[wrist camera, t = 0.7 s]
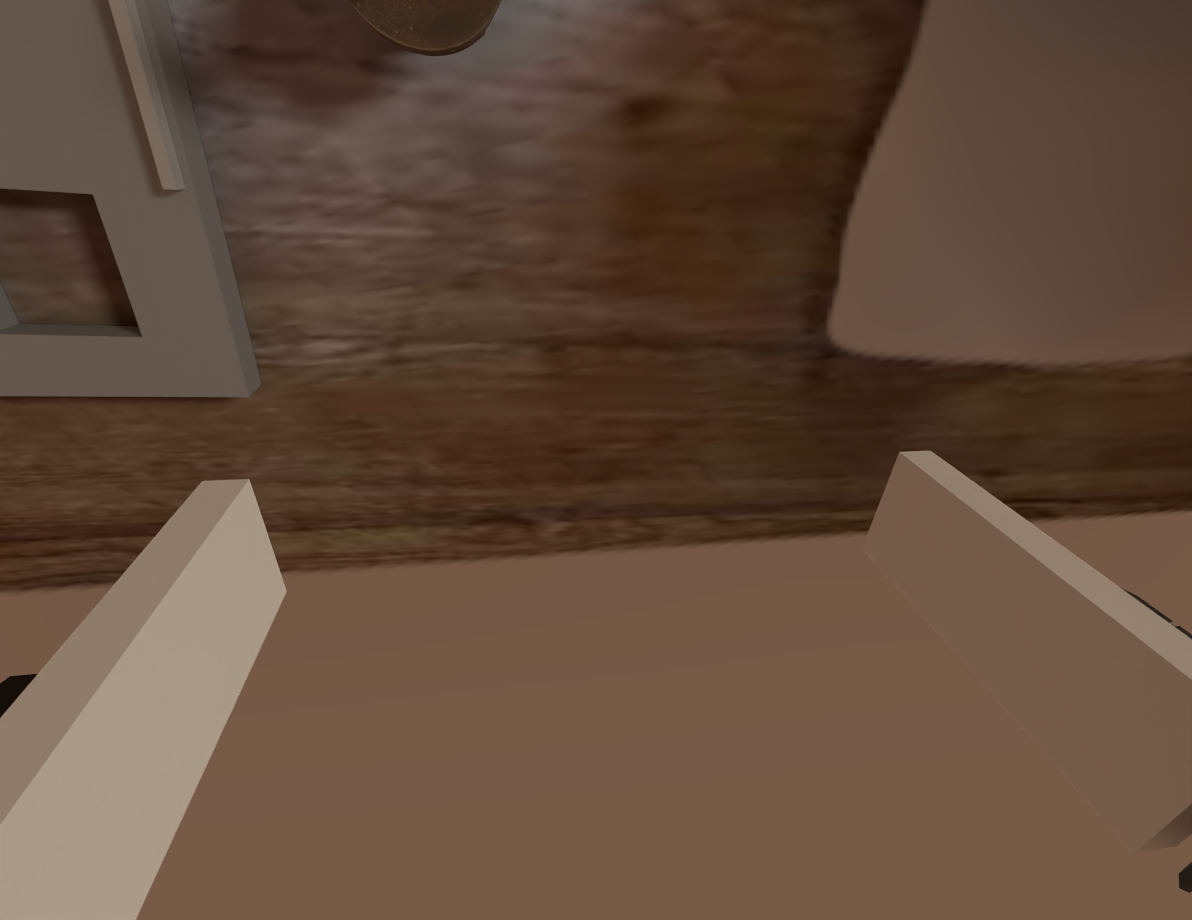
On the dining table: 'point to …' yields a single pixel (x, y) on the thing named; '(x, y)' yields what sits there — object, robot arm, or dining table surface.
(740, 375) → the dining table surface
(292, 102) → the dining table surface
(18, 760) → the robot arm
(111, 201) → the housing plate
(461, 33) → the industrial component
